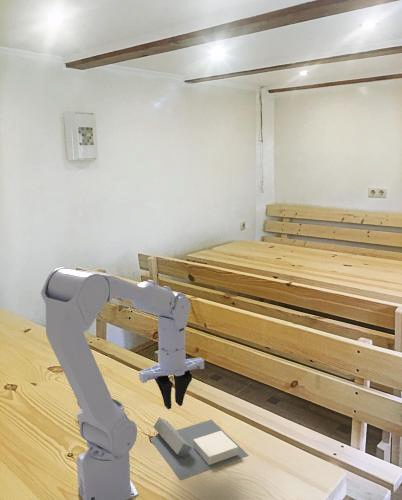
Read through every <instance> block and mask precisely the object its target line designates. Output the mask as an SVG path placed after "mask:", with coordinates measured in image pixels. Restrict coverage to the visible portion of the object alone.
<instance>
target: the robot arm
mask: <svg viewBox="0 0 402 500" xmlns="http://www.w3.org/2000/svg"><path fill="white" fill-rule="evenodd" d="M47 276H48V277H47V278H46V280H45V281H44V285H43V287H42V290H41V292H40V295H41V297H42V299H43V302H44V304H45V334H46V339H47V340H48V342H49V344H50V347H51V349H52V351H53V353H54V355H55V358H56V359H57V361H58V363H59V365H60V367H61V369H62V371H63V374H64V376H65V378H66V380H67V382H68V384H69V386H70V388H71V390H72V391H73V394H74V397H75V399H76V402H77V401H78V403H79V405H80V407H81V409H79V412H78V413H77V415H76V417H77V419H78V423H79V435H80V437H81V438H82V439H83V440H84V441H86V447H87V448H88V449H87V450H86V451H85V452H82V453H81V454H79V455H77V456H76V468H77V471H76V472H77V485H78V486H77V490H78V492H79V496H80V497H81V499H82V500H129V499H133V498H135V497H137V496H138V495H139V492H138V490H137V489H136V487H135V485H134V484H133V482H132V480H131V470H130V469H131V467H130V465H131V464H130V451H131V450H132V448H133V447H134V445H135V443H136V440H137V437H138V428H137V424H136V423H135V422H134V421H133V420H130V418H129V417H128V415H127V413H126V412H125V411H124V410H122V409H121V408H120V407H119V406H117V405H116V404H115V403H114V402H113V400H112V398H113V397H112V396H111V394H110V391H109V389H108V386H107V384H106V381H105V380H104V377H103V375H102V372H101V370H100V367H99V366H98V363H97V361H96V359H95V357H94V355H93V352H92V349H91V346H90V345H89V342H88V340H87V338H86V335H85V332H86V331H88V330H89V329H90V328H91V326H92V325H93V323H94V322H95V321H96V319H97V318H98V316H99V314H100V313H101V312H102V310H103V308H104V307H105V305H106V303H107V302H108V303H110V302H112V300H113V297H115V298H118V299H123V300H126V301H129V302H131V304H132V306H133V308H134V309H135V310H137V311H140V312H144V313H148V314H151V315H154V316H155V317H157V330H158V331H157V332H158V363H157V364H155V365H153V366H150V367H148V368H145V369H142V370H139V372H138V375H139V376H138V379H139V380H140V383H142V384H145V383H147V382H148V381H150V380H154V381H155V382H156V383H155V384H157V387H158V388H159V391H160V394H161V397H162V400H163V401H162V402H163V404H164V407H165V408H166V409H167V410H171V409H172V390H173V385H174V399H175V403H176V404H177V405H178V407H181V406H183V403H184V399H185V395H186V392H187V389H188V388H189V385H190V384H191V382H192V380H193V374H192V373H190V372H191V371H194V370H204V369H205V360H204V359H203V358H202V357H194V358H186V352H187V351H186V327H187V325H188V319H189V315H190V312H191V309H192V307H191V306H192V303H191V302H190V299H189V297H188V296H187V295H186V294H185V293H183V292H179V291H173V290H172V288H171V287H170V286H167V285H166V286H165V285H164V286H160V285H158V281H155V280H151V279H147V281H141V282H139V283H137V284H135V283H132V282H131V281H127V280H125V279H122V278H120V277H117V276H115V275H113V274H108V273H102V272H97V271H96V272H94V271H90V270H89V271H88V270H81V269H70V268H68V267H63V266H62V267H58V268H55V269H54V270H52V271H51V272H50V273H49V275H47ZM169 376H172V377H173V382H172V380H170V377H169ZM78 403H77V404H78ZM80 407H79V408H80Z"/></svg>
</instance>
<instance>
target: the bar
mask: <svg viewBox="0 0 402 500" xmlns="http://www.w3.org/2000/svg"><path fill="white" fill-rule="evenodd" d="M153 428H154V430H155V431H156V433H158V434H159V435H161V436H162V438H163V439H164V440H165V441H166V442H167V443H168V444H169V446H170V447H171V448H172V449H173V450H174V451H175V452H176V454H177V455H180V456H182V457H184V458H186V457H187V455H188V454H189V452H190V450H191V448H192V447H191V446H190V445H189V444H188V443H187V441H186V440H185V439H184V438H183V437H182V436H181V435H180V434H179V433H178V432H177V431H176V430H177V429H175V428H174V427H173V426H172V424H171V423H170V422H169V421H168V420H166V419H164V418H162V417H160V416H159V417H158V419H157V421H156V422H155V424H154V425H153Z"/></svg>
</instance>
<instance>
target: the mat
mask: <svg viewBox="0 0 402 500" xmlns="http://www.w3.org/2000/svg"><path fill="white" fill-rule="evenodd" d="M175 430H176V431H177V432H178V433H179V434H180V435H181V436H182V437H183V438H184V439H185V440H186V441H187V443H188V444H189V445H190V446H191V447H192V448H191V450H190V452H189V454H188V455H187V457H186V458H184V457H182V456H180V455H177V454H176V452H175V451H174V450H173V449H172V448H171V447H170V446H169V444H168V443H167V442H166V441H165V440H164V439H163V438H162V436H161V435H160V434H159V435H157V436H153V437H150V438H149V439H148V440H150V442H151V443H152V444H153V446H154V447H155V448H156V450H157V451H158V452H159V454H160V455H161V457H162V458H163V459H164V461H165V462H166V463H167V464H168V466H169V467H170V469H171V470H172V471H173V473H174V474H175V475H176V477H177V478H178V480H180V481H181V480H184V479H188V478H190V477H193V476H195V475H198V474H202V473H204V472H207V471H209V470H213V469H215V468H217V467H221V466H223V465H226V464H229V463H231V462H234V461H237V460H240V459H243V458H245V457H248V456H249V454H248V453H247V452H246V451H245V450H244V449H243V448H242V447H241V446H240V445H239V444H237V442H236V441H234V439H233V438H231V437H230V436H229V435H228V434H227V433H226V432H225V431H224V429H222V428H221V427H220V426H219V425H218V424H217V423H216V422H214V420H212V419H209V420H206V421H202V422H199V423H195V424H192V425H189V426H186V427H183V428H179V429H175ZM218 431H222V432H223V433H224V434H225V435H226V436H227V437H228V438H229V439H230V440H231V441H233V442H234V443H235V444H236V445H237V446H238V455H236V456H233V457H230V458H227V459H225V460H222V461H219V462H216V463H213V464H211V465H209V464H208V463H207V462H206V461H205V460H204V459H203V458H202V456H201V455H200V454H199V453H198V452H197V451H196V450H195V448H194V447H193V439H196V438H199V437H203V436H206V435H209V434H212V433H215V432H218Z"/></svg>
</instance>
